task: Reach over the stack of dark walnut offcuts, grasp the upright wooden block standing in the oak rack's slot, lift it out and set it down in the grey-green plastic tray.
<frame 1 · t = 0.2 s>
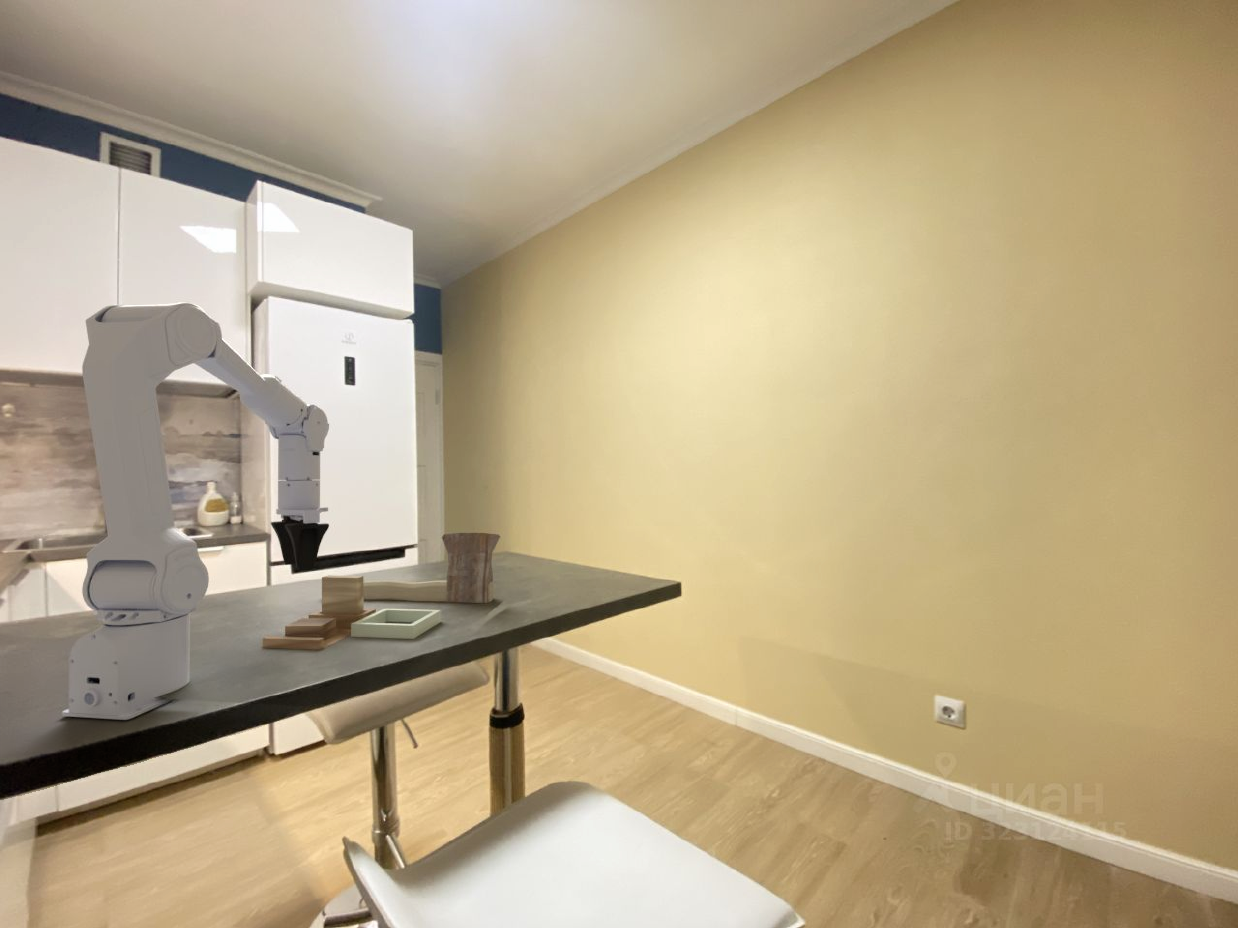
hand: (298, 566, 84), 10 cm above the table, tool pointing down, fingers open, 7 cm apart
offcut top: (311, 630, 76), point 2 cm above the table, touching offcut low
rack: (325, 639, 79), on the table
hand axe: (410, 606, 100), on the table
tray: (398, 634, 81), on the table
upright wooden block: (342, 624, 83), point 1 cm above the table, touching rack
offcut low: (311, 638, 76), point 1 cm above the table, touching offcut top, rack
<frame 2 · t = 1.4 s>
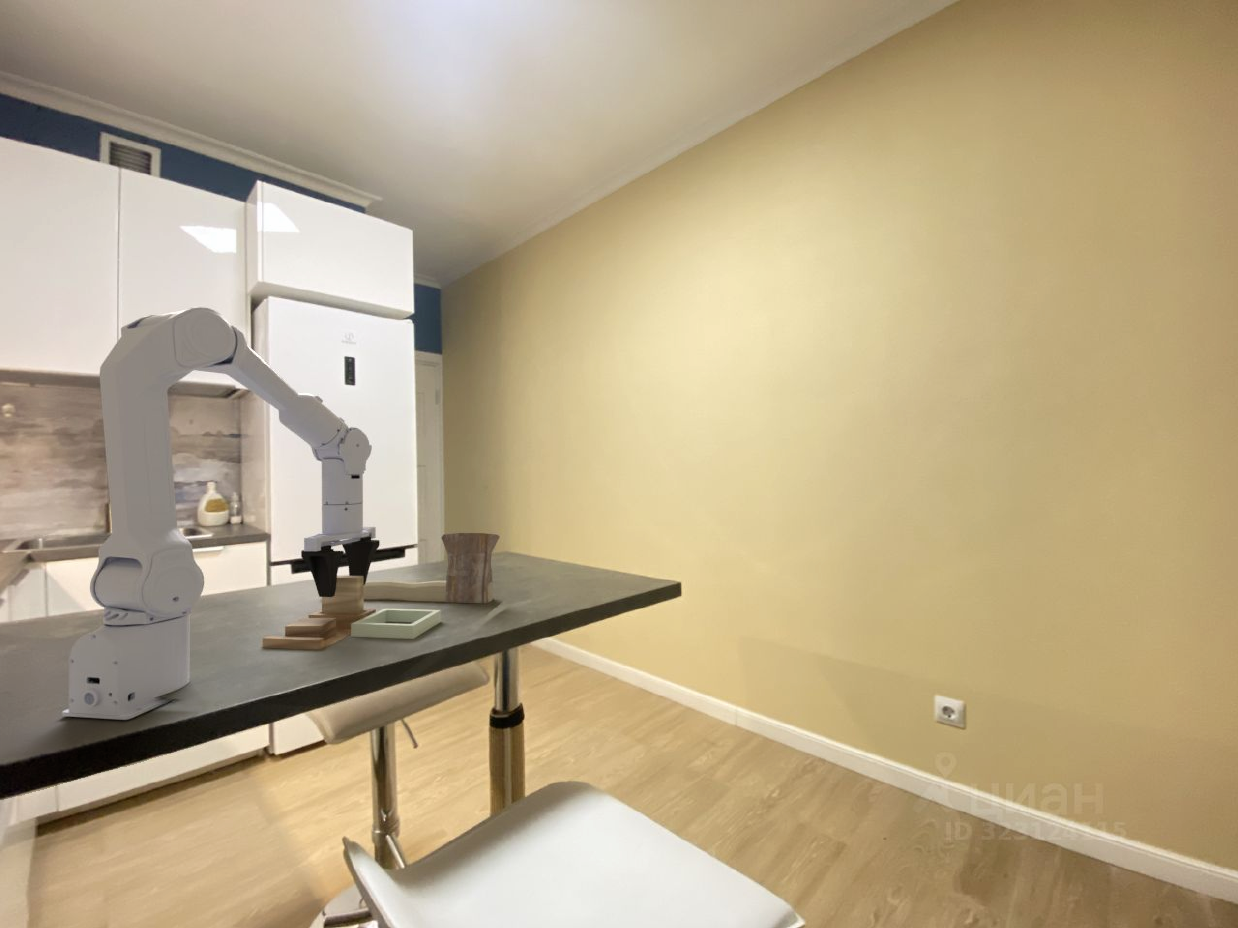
hand: (343, 590, 83), 6 cm above the table, tool pointing down, fingers open, 7 cm apart
nothing on the table moved.
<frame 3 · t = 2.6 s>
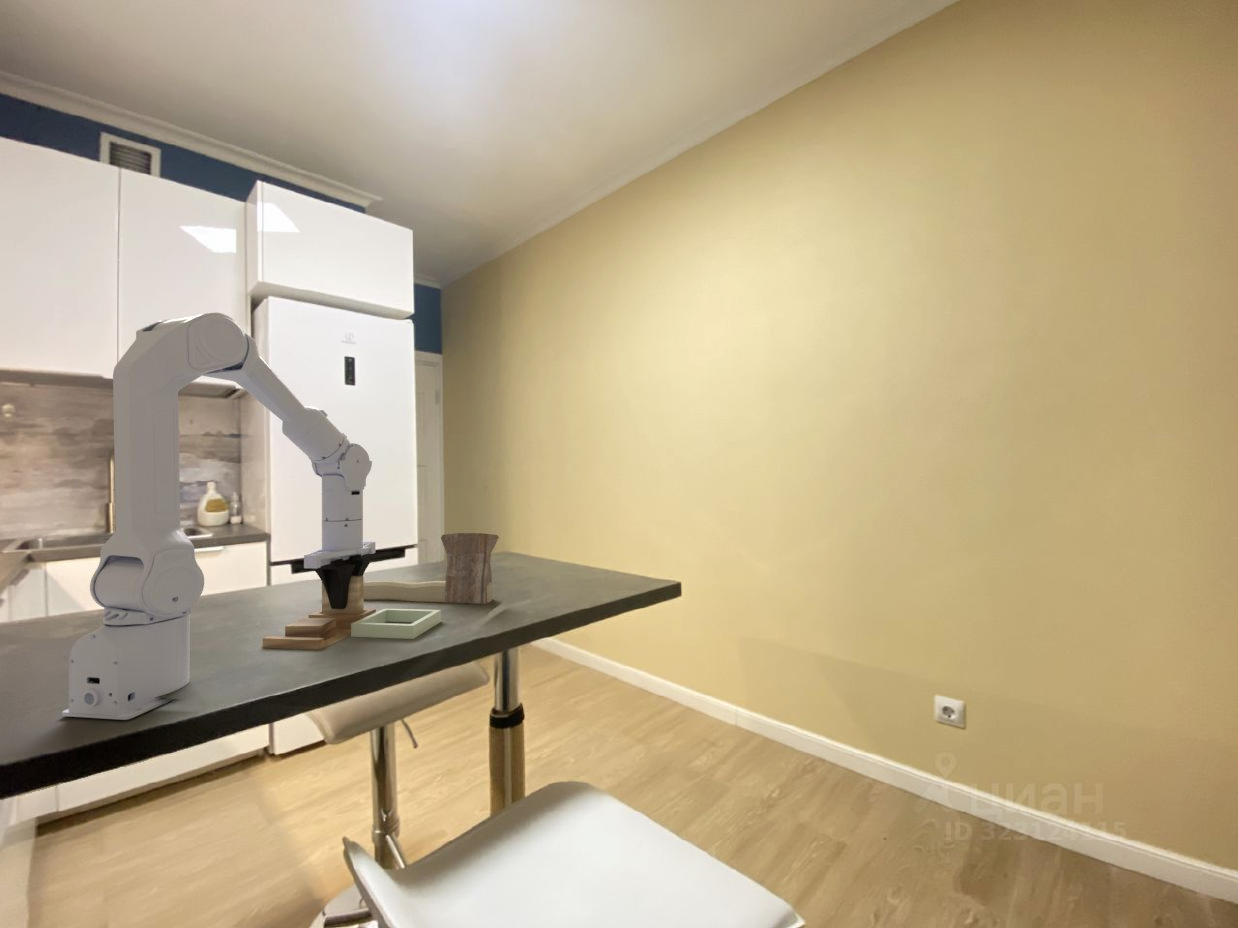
hand: (342, 606, 83), 4 cm above the table, tool pointing down, fingers closed on upright wooden block, 1 cm apart
upright wooden block: (342, 624, 83), point 1 cm above the table, touching gripper, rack
everything else where it was.
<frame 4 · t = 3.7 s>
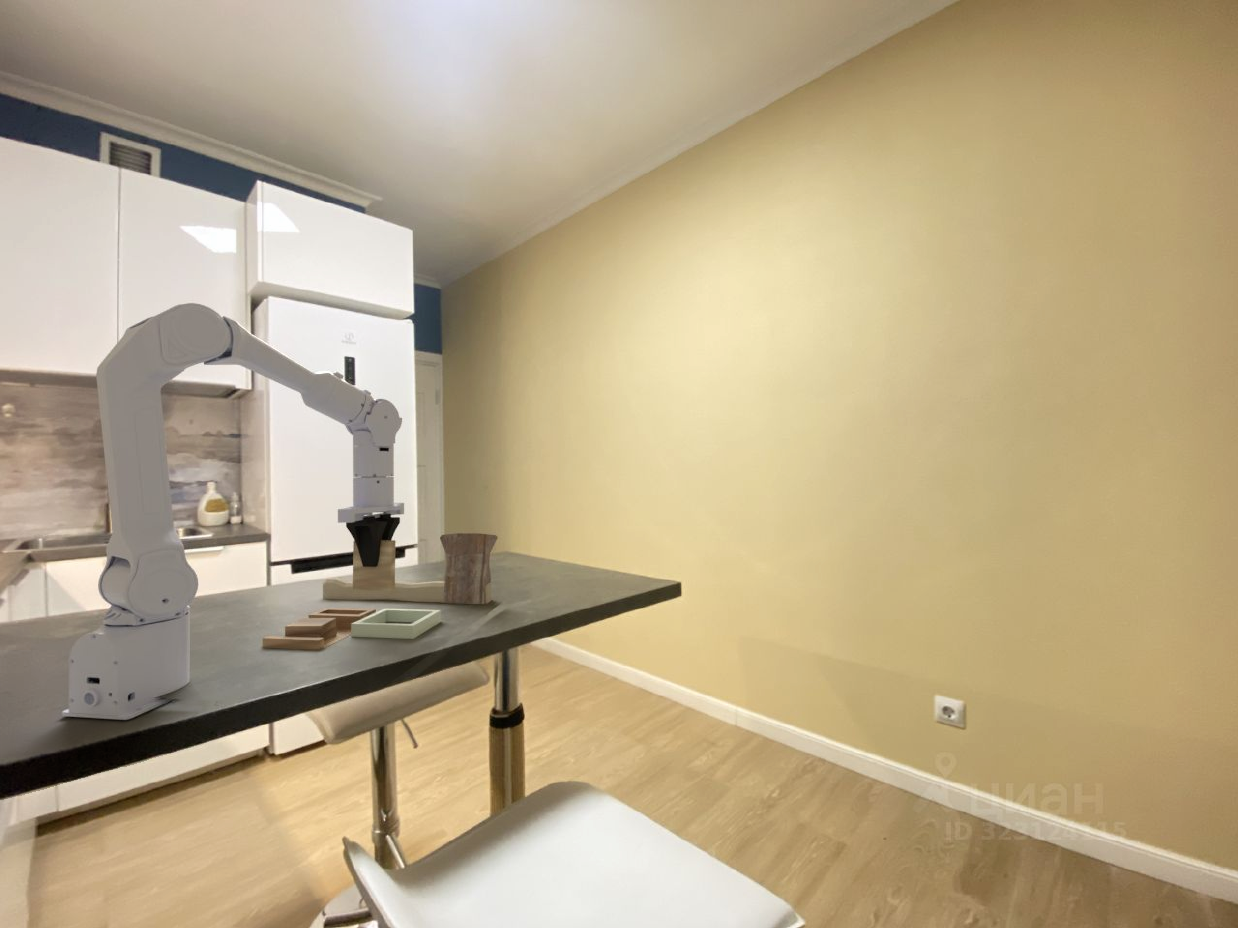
hand: (374, 565, 82), 10 cm above the table, tool pointing down, fingers closed on upright wooden block
upright wooden block: (373, 589, 82), point 7 cm above the table, touching gripper
everything else where it was.
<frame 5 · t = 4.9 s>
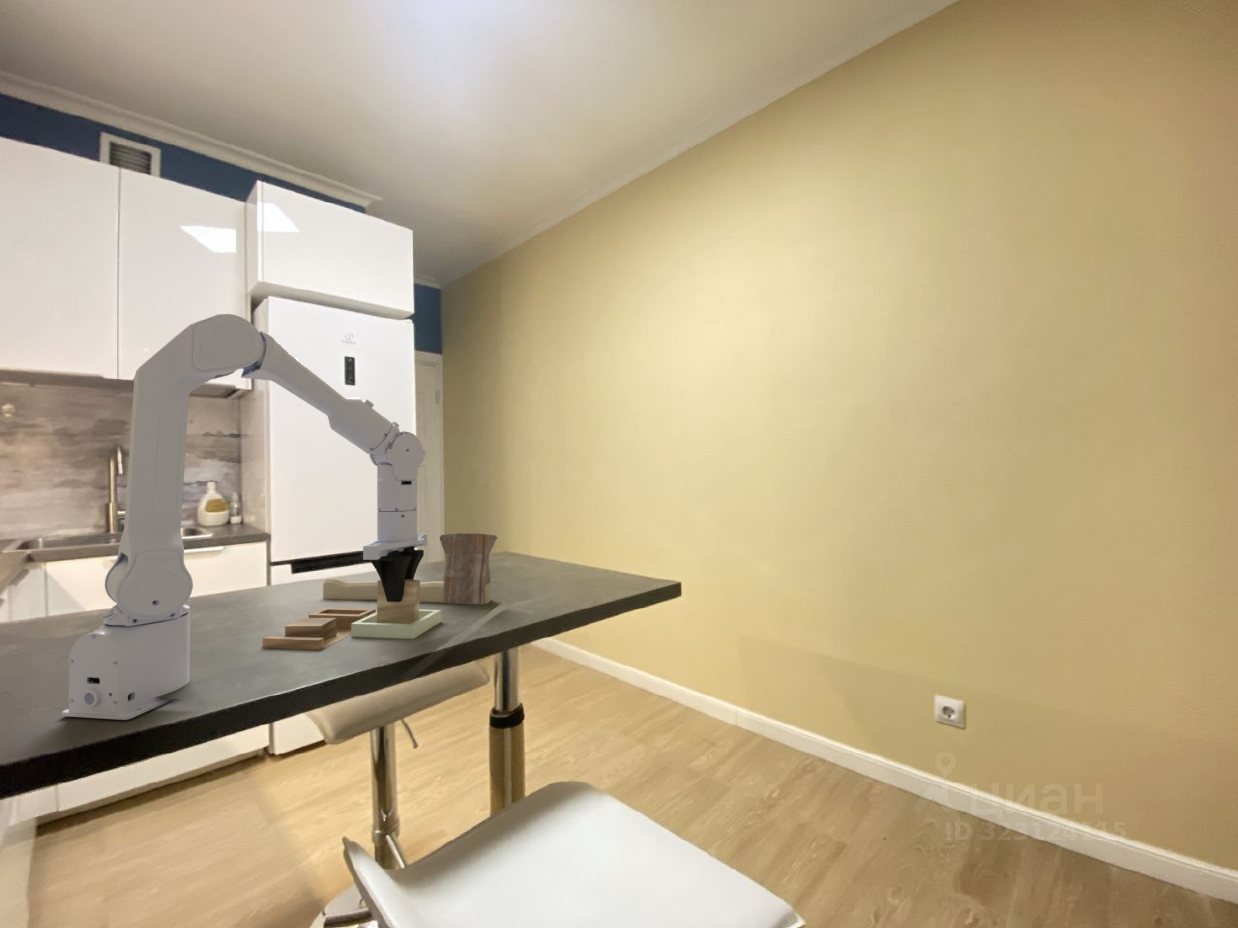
hand: (398, 599, 81), 5 cm above the table, tool pointing down, fingers closed on upright wooden block, 1 cm apart
upright wooden block: (397, 629, 81), point 1 cm above the table, touching gripper
everything else where it was.
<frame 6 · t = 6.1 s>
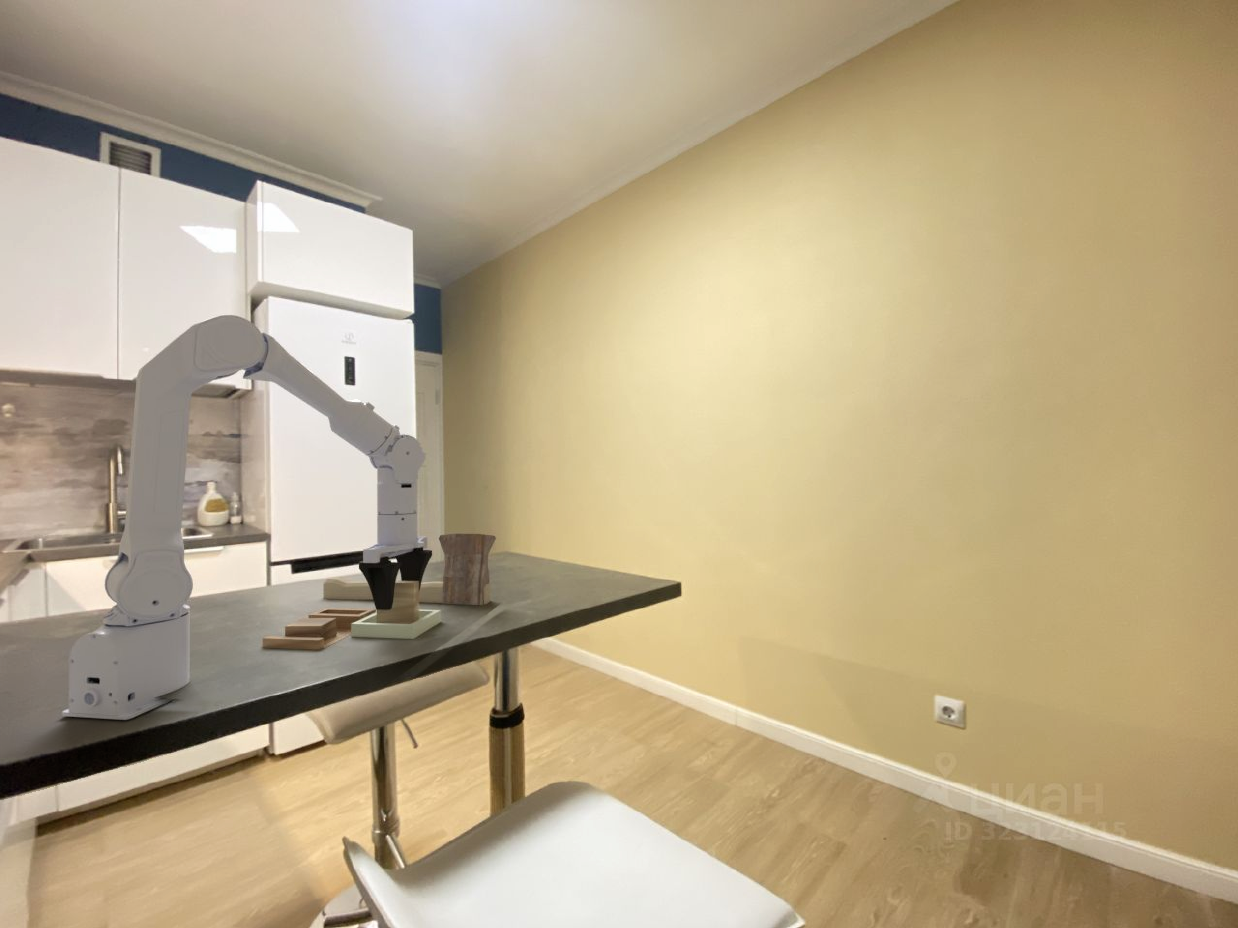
hand: (398, 602, 81), 5 cm above the table, tool pointing down, fingers open, 7 cm apart
upright wooden block: (397, 630, 81), point 1 cm above the table, touching tray
everything else where it was.
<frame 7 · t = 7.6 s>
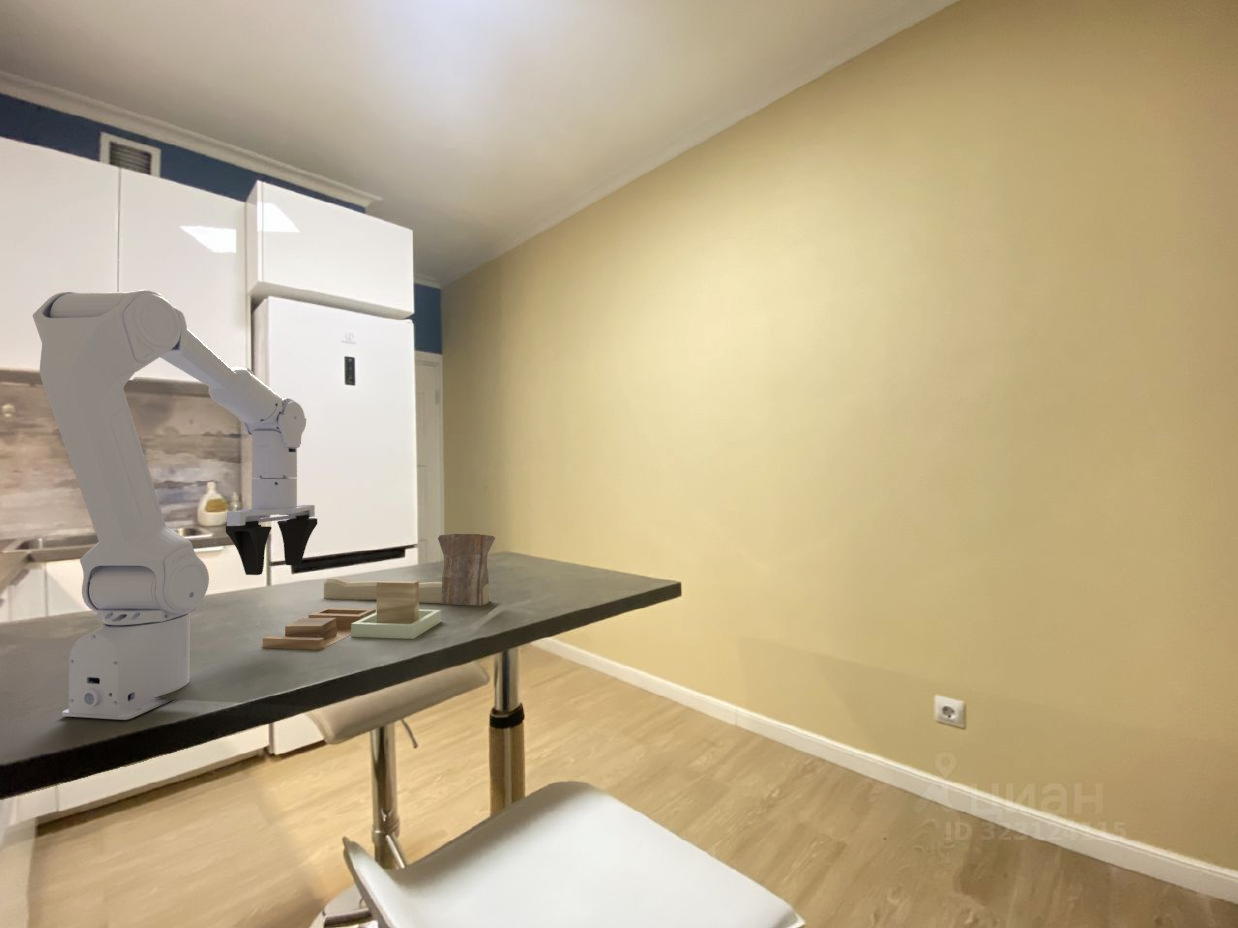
hand: (274, 569, 79), 10 cm above the table, tool pointing down, fingers open, 7 cm apart
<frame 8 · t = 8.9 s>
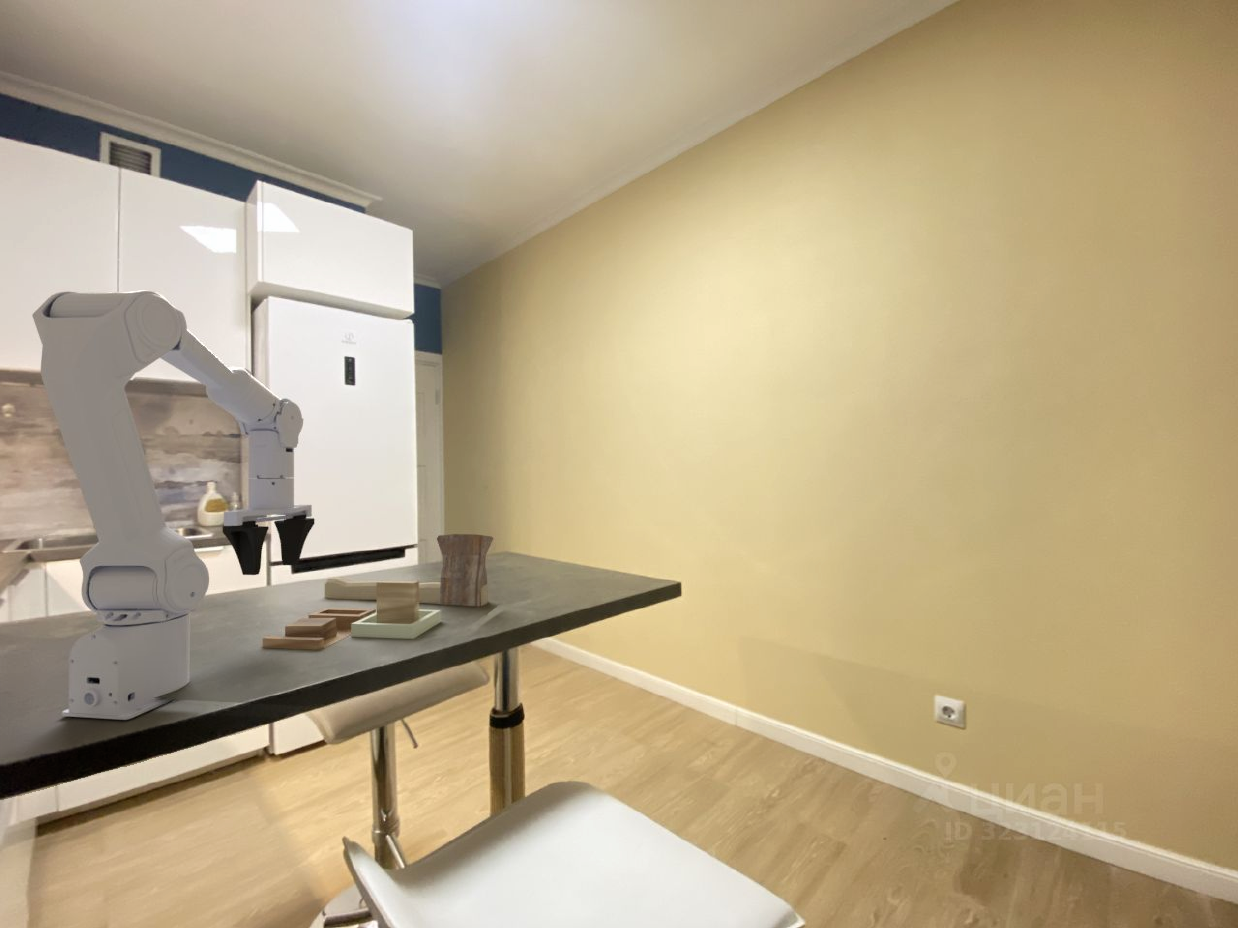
hand: (271, 569, 79), 10 cm above the table, tool pointing down, fingers open, 7 cm apart
at the end: upright wooden block inside the target area on the tray (0.0 cm from its centre), point 0.6 cm above the tray's base; upright wooden block touching tray; the gripper is holding nothing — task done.
